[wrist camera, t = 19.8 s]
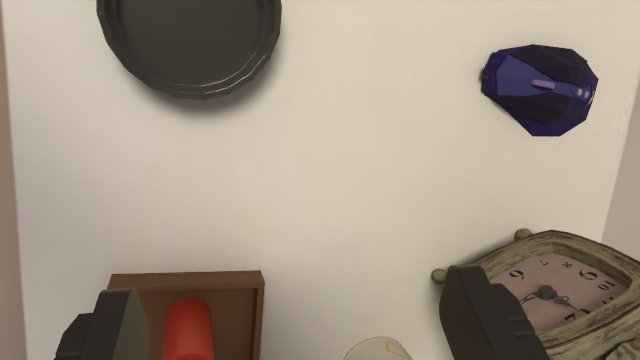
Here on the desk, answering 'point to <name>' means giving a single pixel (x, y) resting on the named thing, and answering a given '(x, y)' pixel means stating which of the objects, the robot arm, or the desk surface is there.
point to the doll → (188, 331)
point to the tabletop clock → (571, 293)
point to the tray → (220, 297)
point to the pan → (192, 42)
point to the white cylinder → (378, 350)
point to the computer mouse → (541, 87)
